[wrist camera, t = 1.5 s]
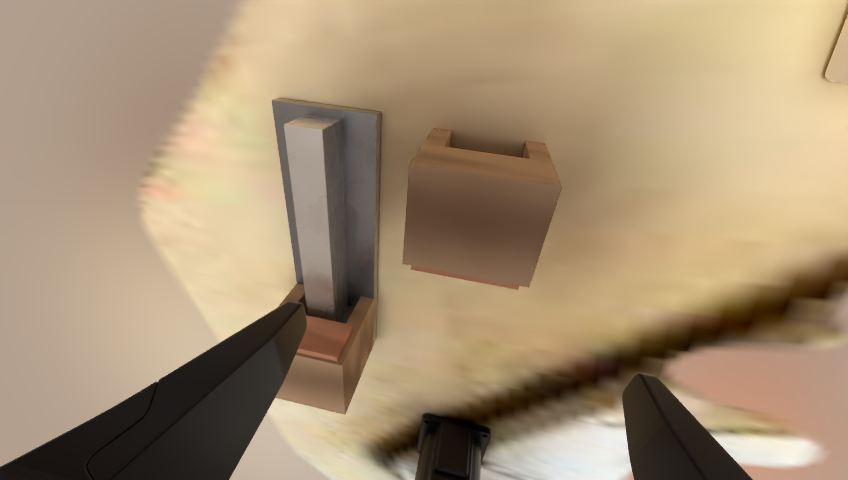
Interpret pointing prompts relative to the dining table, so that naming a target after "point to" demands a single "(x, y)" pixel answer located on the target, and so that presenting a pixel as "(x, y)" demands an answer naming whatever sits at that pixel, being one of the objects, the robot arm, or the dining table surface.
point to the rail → (331, 202)
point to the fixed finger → (329, 357)
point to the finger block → (478, 211)
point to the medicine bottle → (839, 59)
